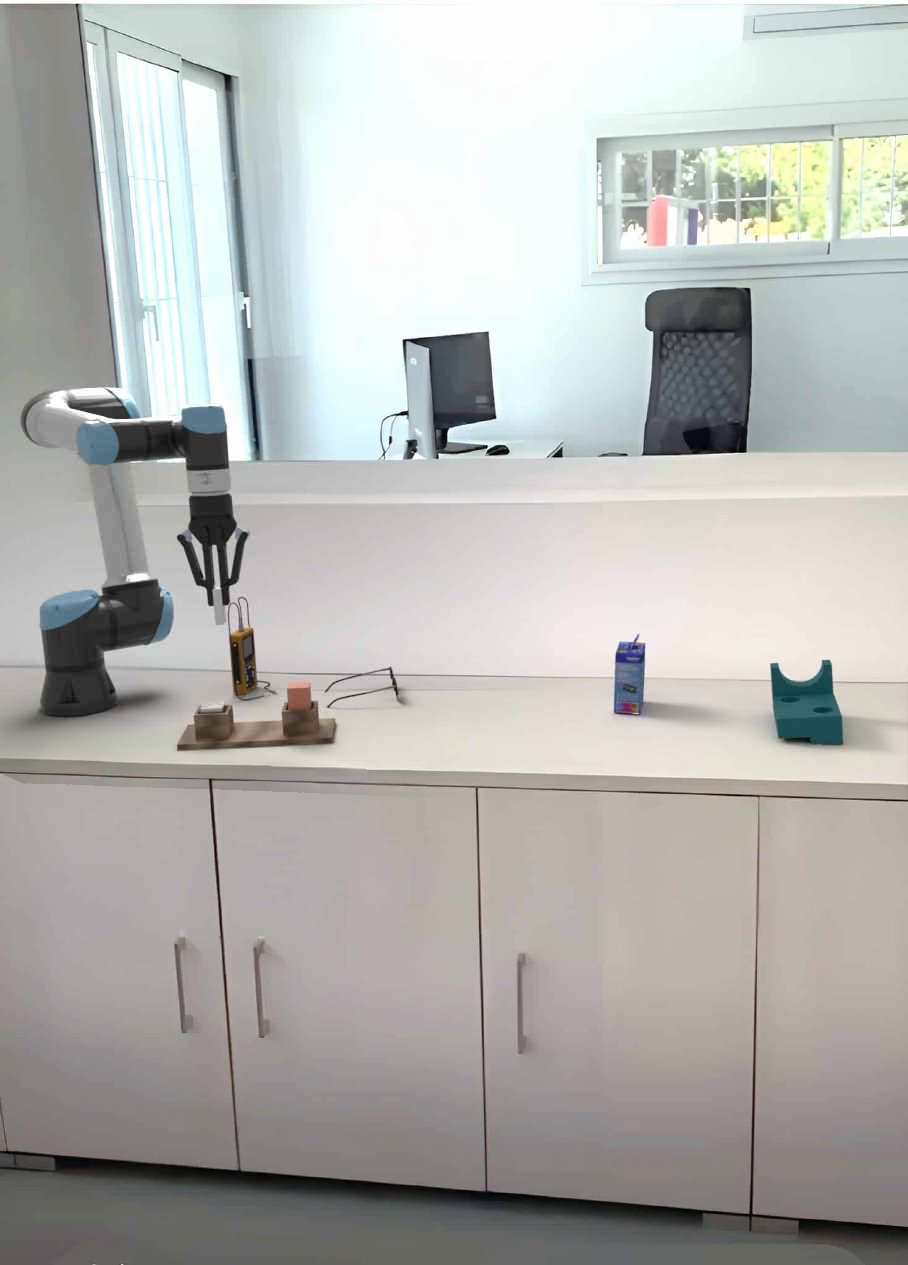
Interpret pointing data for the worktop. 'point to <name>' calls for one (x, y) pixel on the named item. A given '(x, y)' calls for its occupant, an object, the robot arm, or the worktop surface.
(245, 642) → the multimeter
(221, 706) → the steel plug
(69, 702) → the robot arm
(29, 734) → the worktop surface
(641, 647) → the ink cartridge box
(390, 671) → the sunglasses
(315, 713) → the socket panel
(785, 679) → the teal l-shaped bracket
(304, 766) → the worktop surface
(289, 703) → the salmon pink plug
